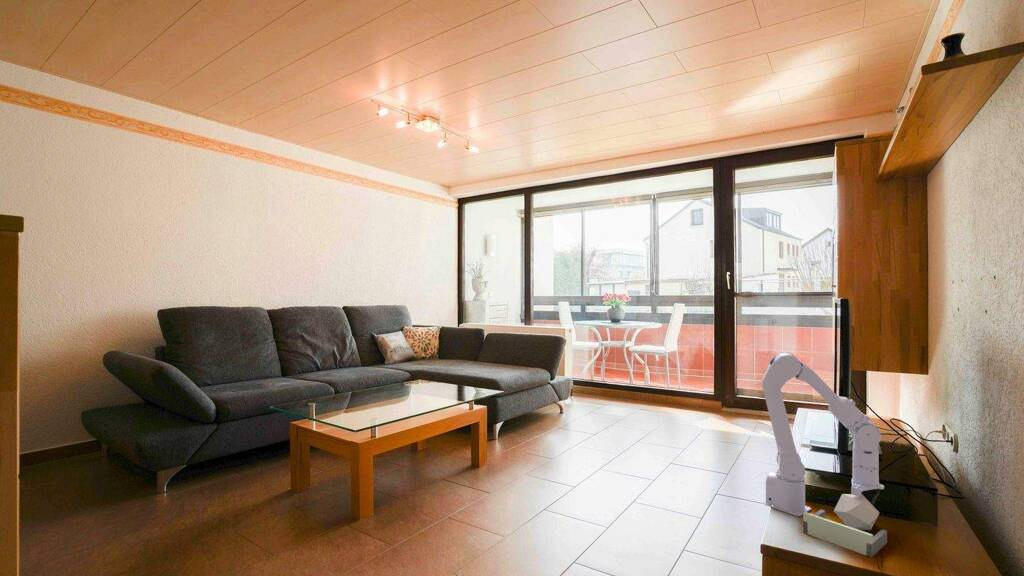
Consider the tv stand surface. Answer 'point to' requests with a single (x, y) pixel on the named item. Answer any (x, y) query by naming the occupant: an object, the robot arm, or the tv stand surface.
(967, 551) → the tv stand surface
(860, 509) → the die
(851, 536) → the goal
